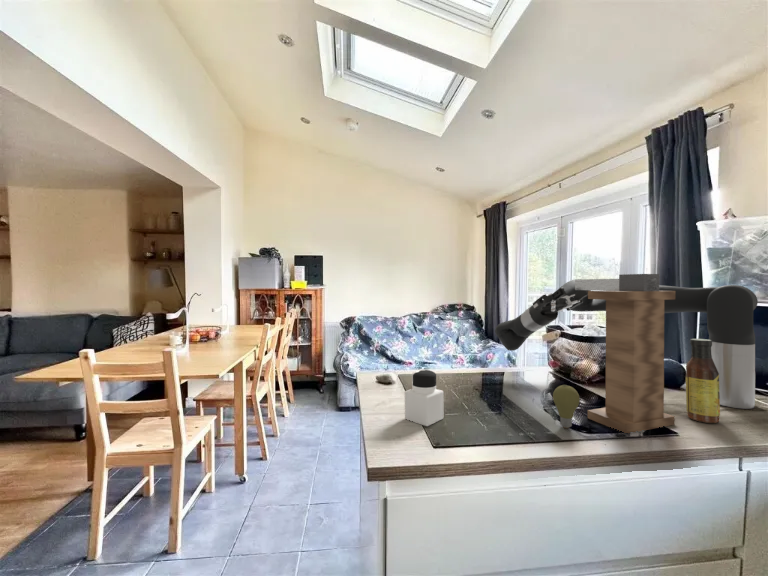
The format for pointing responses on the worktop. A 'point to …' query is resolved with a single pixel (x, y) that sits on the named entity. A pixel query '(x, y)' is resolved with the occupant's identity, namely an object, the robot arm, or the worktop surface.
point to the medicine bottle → (424, 399)
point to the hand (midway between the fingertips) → (575, 290)
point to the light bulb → (566, 403)
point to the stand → (634, 360)
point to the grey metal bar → (621, 283)
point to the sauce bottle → (702, 384)
